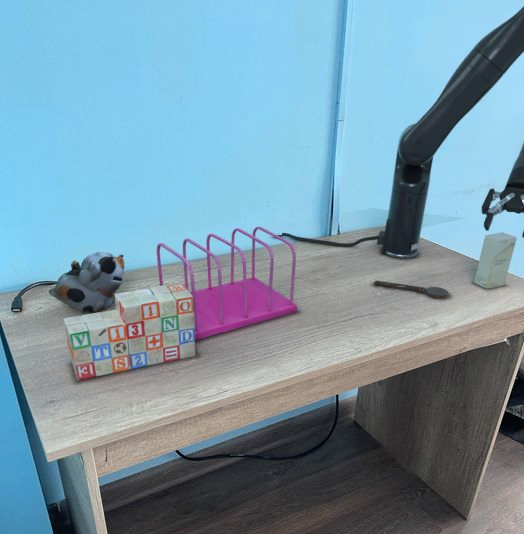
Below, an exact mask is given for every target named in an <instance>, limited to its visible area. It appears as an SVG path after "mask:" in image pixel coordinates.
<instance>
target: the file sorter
mask: <svg viewBox="0 0 524 534" xmlns="http://www.w3.org/2000/svg"><path fill="white" fill-rule="evenodd" d="M258 230H259V231H261V232H264V233H265V234H268V235H269V236H271V237H274V239H277V240H279V241H281V242H282V243H284V244H286V245H288V247H289V248H290V250H291V253H292V265H291V279H290V292H289V293H290V295H289V298H287V297H286V296H284V295H283V294H281V293H280V292H279V291H277V290H275V289H274V288H273V281H274V280H273V279H274V261H275V258H274V252H273V249H272V247H271V246H270V245H269V244H268V243H266V242H264V241H263V240H261V239H260V238H258V237H257V236H256V234H257V231H258ZM237 232H239V233H241V234H242V235H244V236H246V237H248V238H250V239H251V240H252V241H251V277H249V278H247V262H246V256H245V253H244V252H243V250H242V248H240V247H239V246H237V245H236V244H235V235H236V233H237ZM211 238H214V239H215V240H217V241H219V242H221V243H224V244H225V245H227V246H229V247H230V282H228V283H223V281H222V279H223V278H222V268H221V264H220V263H221V262H220V261H219V260H220V259H219V258H218V257H217V256H216V254H214V252H212V251H211V248H210V242H211V241H210V240H211ZM205 240H206V242H205V245H206V248H205V247H204V246H202V245H200V244H199V243H198V242H196V241H194V240H192V239H191V238H188V237H187V238H184V239H183V241H182V255H181V254H180V253H178V252H177V251H175V250H174V249H173V248H171V247H170V246H168V245H166V244H165V243H162V242H159V243H158V244H157V245H156V258H157V259H156V260H157V270H158V271H157V272H158V280H159V286H164V282H163V281H164V280H163V271H162V259H161V248H163V249H164V250H166V251H167V252H170V254H172V255H174V256H175V257H176V258H178V259H179V260H181V261H182V262H183V276H184V287H185V288H186V289H187V290H188V291H189V279H188V278H190V287H191V288H190V289H191V291H189V292H190V294H191V295H192V296H193V311H194V318H195V320H194V321H195V327H194V328H195V341H197V340H200V339H201V340H202V339H204V338H208V337H211V336H216V335H218V334H222V333H226V332H230V331H233V330H237V329H240V328H243V327H248V326H250V325H251V326H252V325H254V324H259V323H262V322H265V321H268V320H272V319H276V318H279V317H283V316H286V315H289V314H293V313H297V311H298V304H296V303H295V302H294V291H295V281H296V280H295V279H296V264H297V263H296V262H297V252H296V249H295V247H294V245H293V243H292V242H290V241H289V240H287V239H285V238H283V236H281V237H280V236H278V234H276V233H274V232H272V231H270V230H268V229H266V228H264V227H262V226H256V227H254V229H253V230H252V234H251V233H249V232H247V231H245V230H243V229H241V228H239V227H237V228H234V229H233V230H232V232H231V242H230V241H228V240H226V239H224V238H223V237H220V236H219V235H216V234H214V233H208V235H207V236H206V239H205ZM187 243H190V244H191V245H193V246H195V248H197V249H199V250H200V251H202V252H204V253H206V263H207V265H206V266H207V283H208V287H206V288H200V289H197V290H195V289H196V287H195V277H194V276H195V275H194V271H193V268H192V265H191V263H190V261H189V260H188V259H187ZM256 243H258V244H260V245H262V246H264V247H265V248H266V249H267V251H268V252H269V257H270V261H269V263H270V264H269V279H268V280H269V281H268V285H267V284H266V283H264V282H263V281H261V280H260V279H258V278H257V277H256V276H255V275H256V273H255V270H256V269H255V268H256V266H255V265H256V264H255V263H256ZM235 250H236V251H237V252H238V253H239V255H240V257H241V261H242V279H241V280H236V281H235V279H234V278H235V276H234V275H235ZM211 257H212V258H213V260H214V262H215V264H216V267H217V282H218V284H217V285H213V286H212V272H211V271H212V270H211V269H212V268H211V267H212V266H211ZM188 271H189V277H188Z"/></svg>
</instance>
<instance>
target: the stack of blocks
mask: <svg viewBox="0 0 524 534" xmlns="http://www.w3.org/2000/svg"><path fill="white" fill-rule="evenodd" d="M190 292H191V291H189V289H188V290H187V289H186V288H185V284H183V283H176V284H170V285H165V284H163V286H160V285H158V286H152V287H149V288H142V289H136V290H130V291H125V292H117V293H114V298H115V299H114V301H115V309H112V310H111V309H110V310H106V311H99V312H97V313H86V314H82V315H77V316H69V317H65V318H63V323H64V328H65V334H66V340H67V345H68V350H69V354H70V355H69V356H70V359H71V365H72V368H73V370H74V374H75V378H76V379H77V381H80V380H84V379H89V378H93V377H100V376H105V375H109V374H113V373H119V372H124V371H129V370H132V369H137V368H142V367H147V366H151V365H156V364H161V363H167V362H172V361H176V360H178V361H179V360H180V359H182V360H183V359H187V358H192V357H196V355H197V354H196V340H195V328H194V327H195V321H194V320H195V318H194V311H193V296H192V295H191V294H190Z"/></svg>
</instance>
